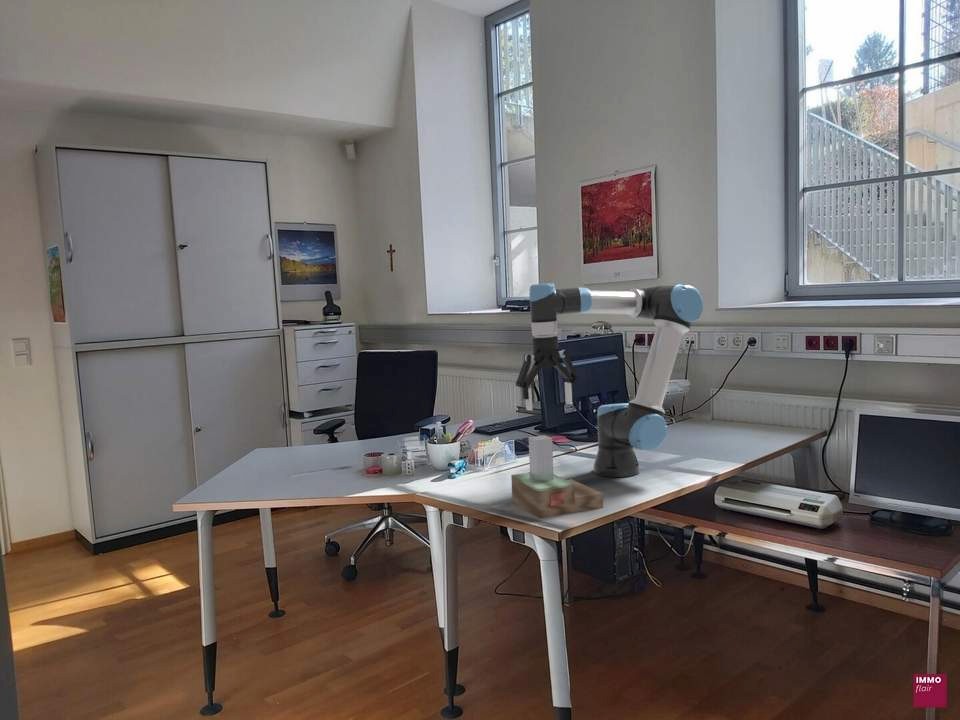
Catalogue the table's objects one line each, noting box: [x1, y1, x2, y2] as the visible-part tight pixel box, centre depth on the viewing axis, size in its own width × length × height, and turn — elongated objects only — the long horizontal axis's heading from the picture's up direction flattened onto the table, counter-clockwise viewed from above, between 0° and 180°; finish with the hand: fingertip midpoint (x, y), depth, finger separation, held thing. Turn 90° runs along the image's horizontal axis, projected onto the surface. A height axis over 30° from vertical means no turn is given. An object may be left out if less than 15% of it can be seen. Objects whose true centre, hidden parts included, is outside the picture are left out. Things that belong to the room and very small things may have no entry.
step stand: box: [510, 471, 604, 519], centre depth 209 cm, size 20×19×8 cm
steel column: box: [528, 435, 555, 482], centre depth 207 cm, size 5×5×12 cm
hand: (549, 407), depth 217 cm, fingers open, 13 cm apart
